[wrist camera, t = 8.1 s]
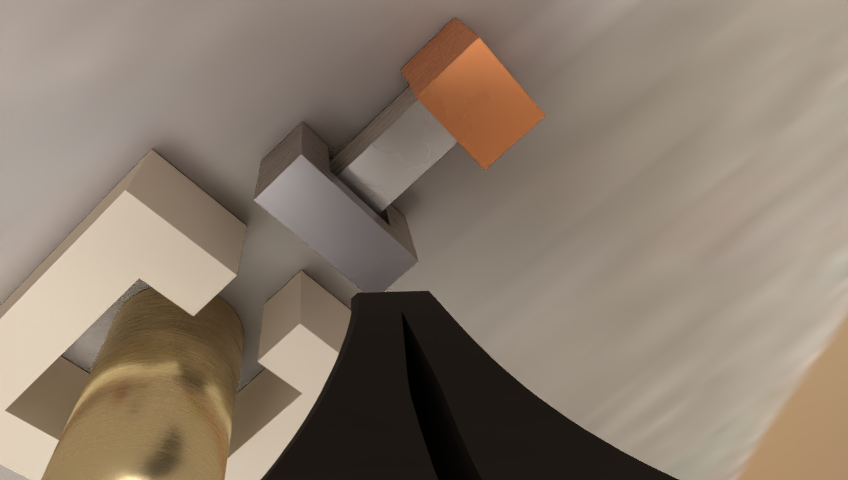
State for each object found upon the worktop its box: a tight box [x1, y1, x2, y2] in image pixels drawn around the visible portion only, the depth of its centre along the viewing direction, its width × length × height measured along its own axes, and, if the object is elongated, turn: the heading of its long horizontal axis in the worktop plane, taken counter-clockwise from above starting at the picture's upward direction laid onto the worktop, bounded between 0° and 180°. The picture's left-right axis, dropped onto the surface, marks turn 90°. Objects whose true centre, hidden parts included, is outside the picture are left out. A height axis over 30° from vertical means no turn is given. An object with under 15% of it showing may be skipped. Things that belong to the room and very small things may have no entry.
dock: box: [0, 149, 351, 480], centre depth 20 cm, size 9×9×3 cm
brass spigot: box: [41, 287, 244, 480], centre depth 18 cm, size 4×4×7 cm
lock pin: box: [329, 18, 545, 215], centre depth 18 cm, size 3×7×3 cm, turn 132°
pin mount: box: [254, 121, 418, 293], centre depth 19 cm, size 4×2×3 cm, turn 42°
